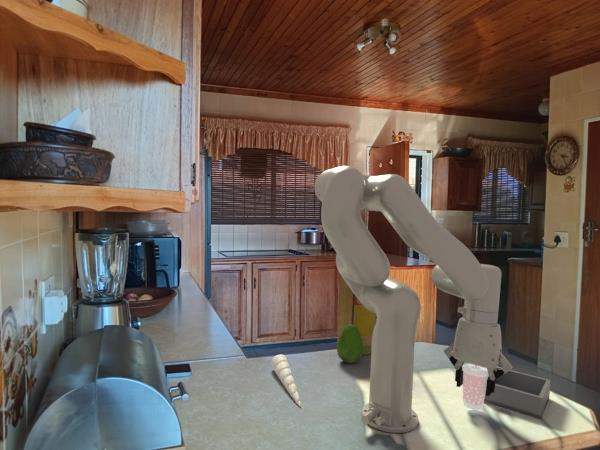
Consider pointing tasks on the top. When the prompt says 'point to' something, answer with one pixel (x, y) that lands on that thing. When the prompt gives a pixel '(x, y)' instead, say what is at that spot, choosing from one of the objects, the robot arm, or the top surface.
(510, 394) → the bin
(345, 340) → the avocado
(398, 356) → the robot arm
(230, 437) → the top surface
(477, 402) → the beverage cup
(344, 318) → the food packaging
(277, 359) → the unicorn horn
